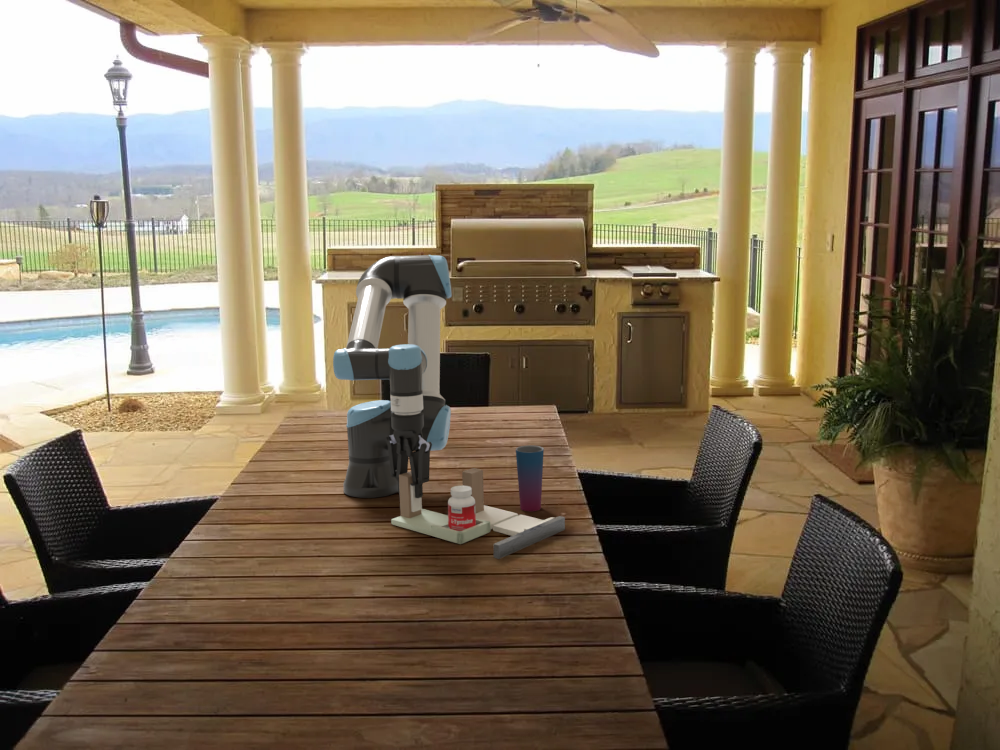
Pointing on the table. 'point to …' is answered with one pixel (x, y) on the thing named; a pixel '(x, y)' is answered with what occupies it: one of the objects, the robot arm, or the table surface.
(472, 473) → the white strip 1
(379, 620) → the table surface
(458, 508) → the pill bottle
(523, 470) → the cup
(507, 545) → the end bar
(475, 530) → the pale green stand
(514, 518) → the white strip
